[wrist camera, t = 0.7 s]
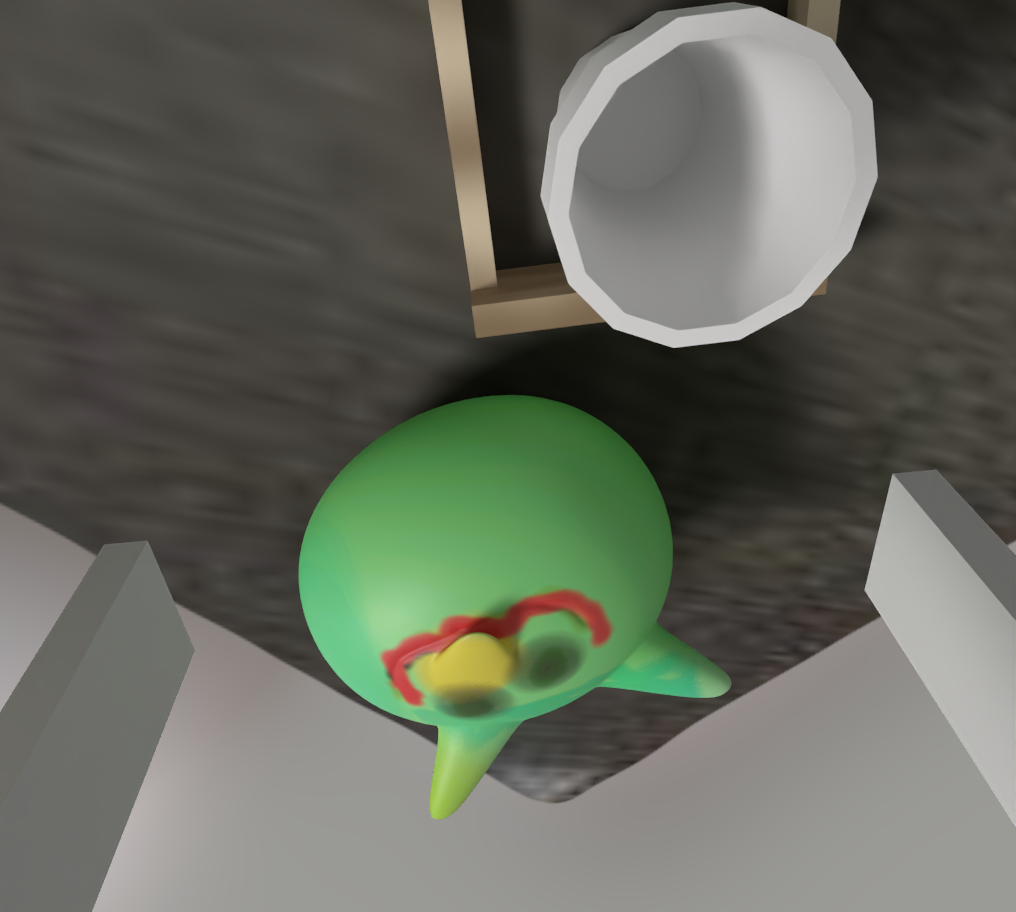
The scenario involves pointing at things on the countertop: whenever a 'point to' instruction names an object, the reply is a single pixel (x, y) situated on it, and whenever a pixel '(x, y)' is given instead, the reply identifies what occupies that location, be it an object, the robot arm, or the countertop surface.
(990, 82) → the countertop surface
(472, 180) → the wooden u-shaped frame
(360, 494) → the toy bird
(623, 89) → the foam cup
